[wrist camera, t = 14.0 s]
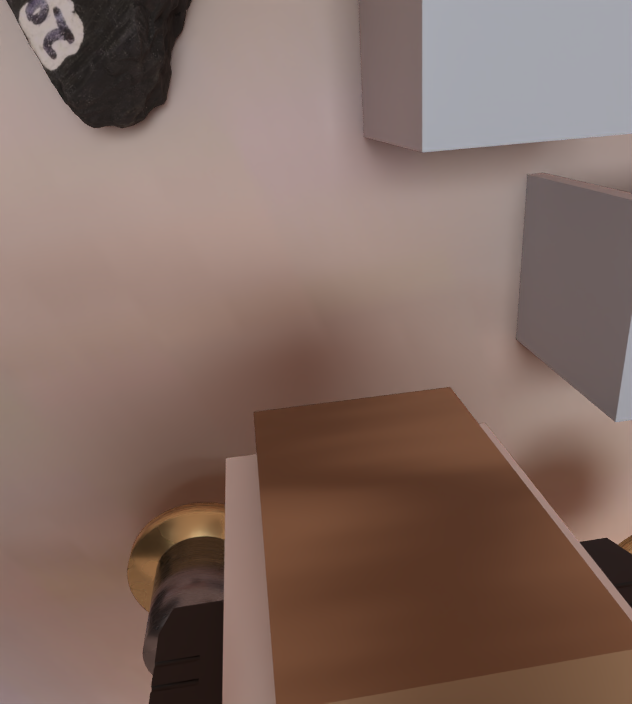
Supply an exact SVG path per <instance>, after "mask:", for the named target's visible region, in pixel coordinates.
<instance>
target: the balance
mask: <svg viewBox="0 0 632 704" xmlns="http://www.w3.org/2000/svg"><path fill="white" fill-rule="evenodd" d="M619 546H620V547H622V548H623V549H625V550H626V551H628V552H629V553H631V554H632V535H631V536H630V537H628V538H627V539H625V540H624V541H622V542H621V543H620V544H619ZM224 553H225V505H224V504H219V503H192V504H187V505H182V506H179V507H176V508H173V509H171V510H168V511H166V512H164V513H162V514H160V515H159V516H157V517H156V518H154V519H153V520H152V521H150V522H149V523H148V524H147V525H146V526H145V527H144V528H143V529H142V531H141V532H140V533H139V535H138V536H137V538H136V540H135V542H134V544H133V547H132V550H131V554H130V559H129V563H128V569H127V577H128V583H129V586H130V589H131V592H132V593H133V595H134V597H135V599H136V600H137V601H138V602H139V604H140V605H141V606H142V607H143V608H144V609H145V610H147V611H148V612H149V616H148V622H147V628H146V635H145V641H144V647H143V659H144V662H145V665H146V667H147V669H148V670H149V671H150V673H151V674H152V675H153V671H154V668H155V656H156V649H157V641H158V634H159V632H160V631H161V629H162V627H163V625H164V624H165V622H166V620H167V619H168V617H169V615H170V613H171V612H172V610H173V608H177V607H183V606H189V605H196V604H202V603H208V602H215V601H221V600H224Z"/></svg>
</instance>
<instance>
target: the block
mask: <svg viewBox="0 0 632 704" xmlns="http://www.w3.org/2000/svg"><path fill="white" fill-rule="evenodd" d="M254 424H255V437H256V450H257V463H258V476H259V489H260V502H261V515H262V528H263V541H264V554H265V568H266V581H267V594H268V607H269V620H270V633H271V646H272V659H273V672H274V685H275V698H276V704H632V621H631V620H630V618H629V617H628V616H627V615H626V613H625V612H624V611H623V609H622V608H621V607H620V606H619V604H618V603H617V602H616V600H615V599H614V598H613V597H612V595H611V594H610V593H609V591H608V590H607V589H606V587H605V586H604V585H603V584H602V582H601V581H600V580H599V578H598V577H597V576H596V575H595V573H594V572H593V571H592V569H591V568H590V567H589V566H588V564H587V563H586V562H585V560H584V559H583V558H582V557H581V555H580V554H579V553H578V551H577V550H576V549H575V548H574V546H573V545H572V544H571V542H570V541H569V540H568V538H567V537H566V536H565V535H564V533H563V532H562V531H561V529H560V528H559V527H558V526H557V524H556V523H555V522H554V520H553V519H552V518H551V517H550V515H549V514H548V513H547V511H546V510H545V509H544V508H543V506H542V505H541V504H540V502H539V501H538V500H537V499H536V497H535V496H534V495H533V493H532V492H531V491H530V489H529V488H528V487H527V486H526V484H525V483H524V482H523V480H522V479H521V478H520V477H519V475H518V474H517V473H516V471H515V470H514V469H513V468H512V466H511V465H510V464H509V462H508V461H507V460H506V459H505V457H504V456H503V455H502V453H501V452H500V451H499V450H498V448H497V447H496V446H495V444H494V443H493V442H492V440H491V439H490V438H489V437H488V435H487V434H486V433H485V431H484V430H483V429H482V428H481V426H480V425H479V424H478V422H477V421H476V420H475V419H474V417H473V416H472V415H471V413H470V412H469V411H468V410H467V408H466V407H465V406H464V404H463V403H462V402H461V401H460V399H459V398H458V397H457V395H456V394H455V393H454V391H453V390H452V389H451V388H450V387H447V388H439V389H431V390H423V391H415V392H407V393H400V394H392V395H384V396H376V397H368V398H360V399H352V400H344V401H337V402H329V403H321V404H313V405H305V406H297V407H289V408H281V409H273V410H266V411H258V412H254Z"/></svg>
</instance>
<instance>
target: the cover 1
mask: <svg viewBox="0 0 632 704" xmlns="http://www.w3.org/2000/svg"><path fill="white" fill-rule="evenodd" d="M358 1H359V28H360V54H361V81H362V107H363V133H364V137H366V138H370V139H373V140H377V141H381V142H385V143H389V144H392V145H396V146H400V147H404V148H407V149H411V150H415V151H419V152H432V151H444V150H455V149H466V148H477V147H488V146H499V145H510V144H521V143H532V142H543V141H555V140H566V139H577V138H588V137H599V136H610V135H621V134H632V0H358Z"/></svg>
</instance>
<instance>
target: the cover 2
mask: <svg viewBox="0 0 632 704" xmlns="http://www.w3.org/2000/svg"><path fill="white" fill-rule="evenodd" d="M516 339H517V340H518V341H519V342H520V343H521V344H522V345H524V346H525V347H526V348H527V349H528V350H530V351H531V352H532V353H533V354H534V355H536V356H537V357H538V358H539V359H540V360H542V361H543V362H544V363H545V364H546V365H548V366H549V367H550V368H551V369H552V370H554V371H555V372H556V373H557V374H558V375H560V376H561V377H562V378H563V379H564V380H566V381H567V382H568V383H569V384H570V385H572V386H573V387H574V388H575V389H576V390H577V391H579V392H580V393H581V394H582V395H583V396H585V397H586V398H587V399H588V400H589V401H591V402H592V403H593V404H594V405H595V406H597V407H598V408H599V409H600V410H601V411H603V412H604V413H605V414H606V415H607V416H609V417H610V418H611V419H612V420H613V421H615V422H620V421H628V420H632V193H630V192H625V191H621V190H616V189H612V188H608V187H603V186H599V185H594V184H590V183H586V182H581V181H577V180H572V179H568V178H564V177H559V176H555V175H550V174H546V173H537V174H527V188H526V203H525V217H524V232H523V246H522V260H521V275H520V289H519V304H518V318H517V333H516Z"/></svg>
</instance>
